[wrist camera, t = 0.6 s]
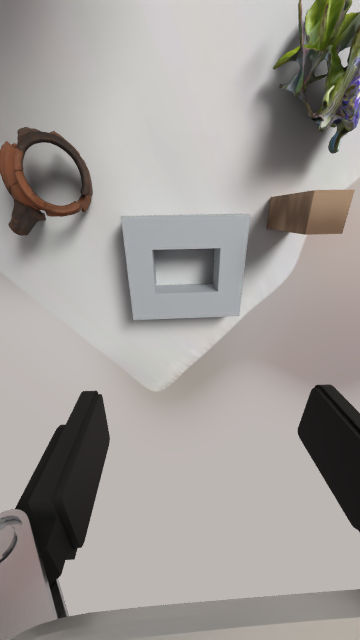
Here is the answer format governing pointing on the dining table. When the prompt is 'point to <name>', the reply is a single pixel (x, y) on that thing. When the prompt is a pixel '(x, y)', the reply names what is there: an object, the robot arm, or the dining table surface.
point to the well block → (186, 234)
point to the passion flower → (329, 65)
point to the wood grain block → (310, 212)
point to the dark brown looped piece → (24, 197)
